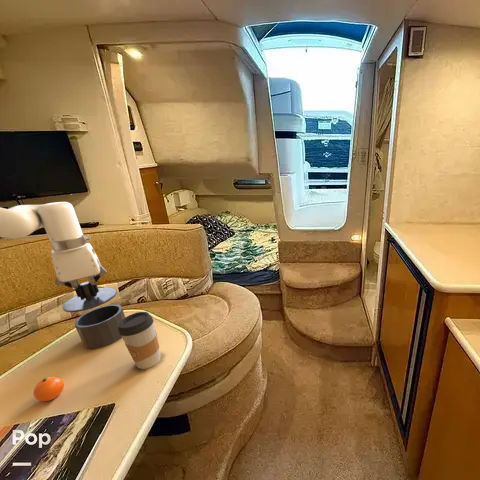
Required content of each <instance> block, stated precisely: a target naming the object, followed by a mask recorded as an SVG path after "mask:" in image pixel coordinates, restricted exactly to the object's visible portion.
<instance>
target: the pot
mask: <svg viewBox="0 0 480 480" xmlns="http://www.w3.org/2000/svg"><path fill="white" fill-rule="evenodd" d="M125 317H126V315H125V312H124V309H123V307H122V305H120V304H116V303H115V304H107V305H101V306H98V307H95V308H92V309H90V310H88V311H87V312H85V313H83V314H81V315H80V316H79V317H78V318H76V320H75V321H74V327H75V329H76V332H77V334H78V336H79V338H80V341H81V343H82V345H83V347H84V348H86V349H89V350H96V349H101V348H104V347H105V348H106V347H107V346H110V345H112V344H115V343H116V342H118V341H120V340H121V339H123V338H122V336H121V335H120V334H119V330H118V327H119V323H120V321H121V320H122V319H124V318H125Z"/></svg>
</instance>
